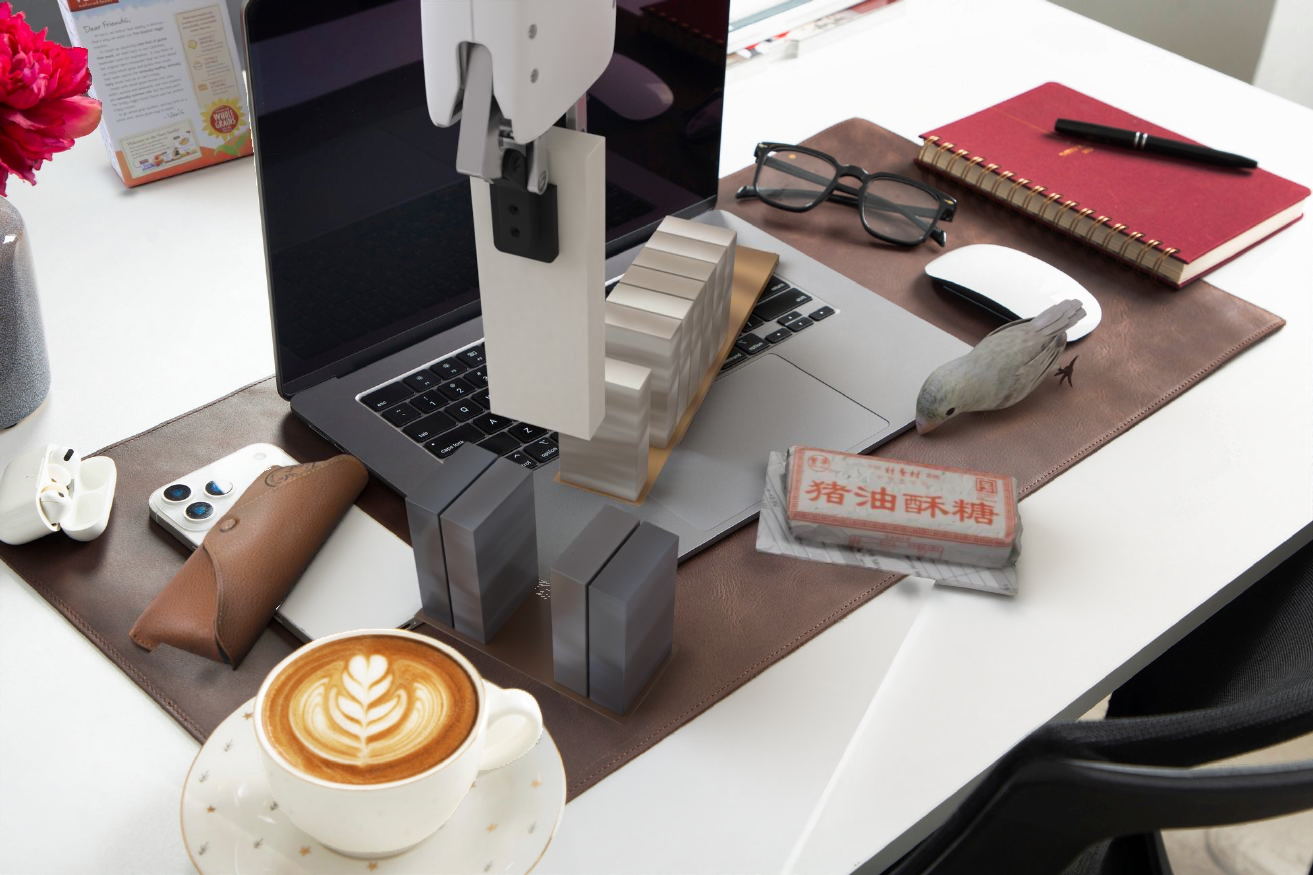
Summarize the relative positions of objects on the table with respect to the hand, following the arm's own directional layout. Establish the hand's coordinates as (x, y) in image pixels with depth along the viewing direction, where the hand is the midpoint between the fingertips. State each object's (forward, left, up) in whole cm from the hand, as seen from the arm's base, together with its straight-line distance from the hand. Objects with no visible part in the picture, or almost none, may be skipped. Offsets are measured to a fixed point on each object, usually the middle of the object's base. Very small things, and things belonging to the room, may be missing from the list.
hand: (539, 236), depth 56 cm
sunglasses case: (-7, +20, -30) cm, 36 cm away
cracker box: (+30, +66, -30) cm, 79 cm away
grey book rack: (-2, -1, -29) cm, 29 cm away
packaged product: (+19, -16, -30) cm, 39 cm away
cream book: (0, 0, -12) cm, 12 cm away
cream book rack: (+28, +6, -29) cm, 41 cm away
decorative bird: (+37, -18, -30) cm, 51 cm away
